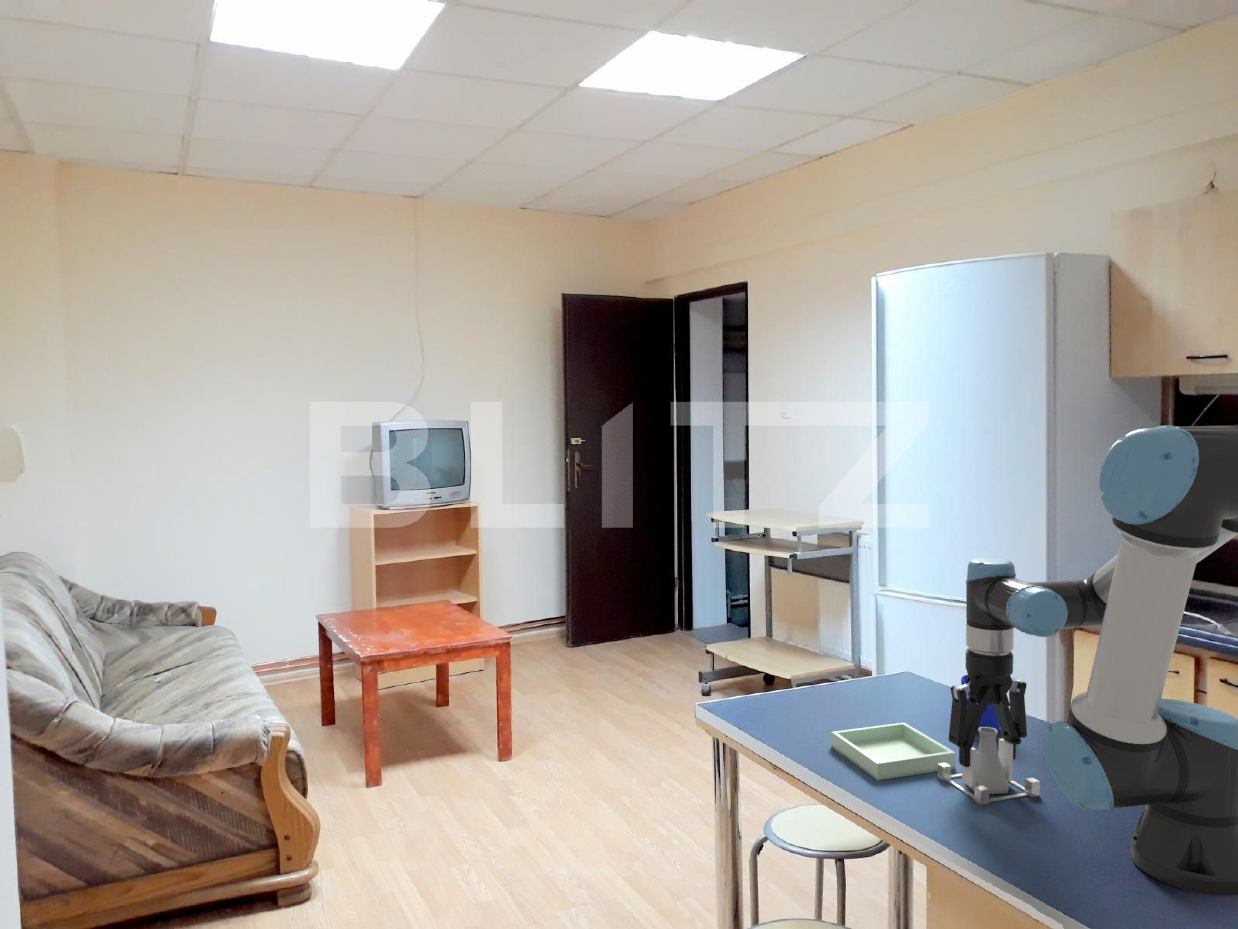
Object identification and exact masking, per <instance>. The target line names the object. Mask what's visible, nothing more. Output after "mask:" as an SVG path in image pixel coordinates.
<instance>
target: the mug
mask: <svg viewBox="0 0 1238 929" xmlns="http://www.w3.org/2000/svg"><path fill="white" fill-rule="evenodd" d="M967 676H968V674H966V675H965V674H964V675H963V676H961V677H960V678H961V679H960V683H961V684H960V686H961V685H964V684H965V681H966V679H967ZM969 695H970V693H969V692H968V696H969ZM967 702H968V699H967ZM976 703H977V704H980V703H978V702H976ZM967 709H968V704H967ZM979 727H990V728H995V729H996V730H998V731H999V730H1000V729H1001V728H1000V725H999V721H998V718H997V715H996V711H995V708H994V705H993V704H990V705H987V709H986V711H985V712H983V714H982V717H981V721H980V724H979ZM979 727H978V729H979ZM977 733H979V732H978V730H977Z"/></svg>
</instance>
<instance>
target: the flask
mask: <svg viewBox="0 0 1238 929" xmlns="http://www.w3.org/2000/svg"><path fill="white" fill-rule="evenodd" d="M977 733H979V742H978V747H977V751H976V786H982V785H983V786H985V787H986V788H988V789H989V795H995V794H996V795H997V794H1008V792H1009V789H1010V783H1009V782H1008V781H1007V778H1006V775H1005V772H1004V770H1003V767H1002V764H1001V761H1000V758H999V755H998V753H999V750H998V746H997V745H998V744H997V736H998V733H999V729H998V730H996V729H995V728H990V727H979V729H978V732H977ZM964 784H965V786H967V787H968V788H969V789H971V790H972V791H973V792H974V791H975V787H971V786H969V785H968V784H966V783H965V782H964Z"/></svg>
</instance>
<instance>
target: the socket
mask: <svg viewBox="0 0 1238 929" xmlns="http://www.w3.org/2000/svg"><path fill="white" fill-rule="evenodd" d="M937 778H938V779H939V780H941V781H942V782H947V783H948V784H950V785H952V787H955V788H956V789H958V790H959V791H961V792H962V793H964V794H966V795H967V796H969V797H970V798H971V799H973V800H974V802H975V803H976V804H978V805H979V806H985V805H989V804H990V803H993V802H1000V801H1006V800H1012V799H1018V798H1025V797H1031V798H1034V797H1035V798H1036V797H1039V796H1040V788H1041V787H1040V786H1041V783H1040V780H1038V779H1036V778H1034V777H1027V778H1024V786H1023V785H1021V784H1020V783H1018V782H1016V781H1015V780H1013V779H1012V781H1008V783H1009V784H1012V785H1013V786H1015V787H1016V788H1019V790H1022V791H1023V793H1017V794H1016V793H1015V794H1011V795H1010V794H1009V795H1004V796H999V797H998V796H997V797H991V798H990V794H989V789H988V788H986V787H985V786H983V785H982V786H976V787H975V791H973V792H974V794H973V793H972V792H970V791H969V790H968V789H966V788H964V787H962V786H961V785H959V784H958V783H956V782H955V781H953V780H952V779H955V778H956V779H957V778H962V772H961V773H956V774H952V769H951V766H950V765H949V764H947V763H938V768H937Z"/></svg>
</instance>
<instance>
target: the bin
mask: <svg viewBox="0 0 1238 929" xmlns="http://www.w3.org/2000/svg"><path fill="white" fill-rule="evenodd" d="M830 736H831V737H830V738H831V741H830V743H831V744H830V747H831V748H832V749H833V750H834V751H836V752H837V753H838V754H840V755H841V756H843V757H844V758H845V759H847V760H849V761H850V762H851V763H852V764H854V765H855V766H856V767H858V768H860V769H861V770H862V771H864V772H865V773H866V774H867V775H869V776H870V777H872V778H873V779H874V780H876V781H881V780H888V779H896V778H902V777H903V778H904V777H908V776H916V775H923V774H929V773H936V772H937V768H938V763H947V764H949V765H950V766H951V770H955V769H956V751H954V750H952V749H950V748H949V747H946V746H945V745H944V744H942V743H940V742H938V741H936V740H935V739H933V738H932V737H930V736H928V735H926V734H925V733H923V732H921V731H920V730H919V729H916V728H915V727H912V726H911V725H909V724H908V723H906V722H896V723H889V724H881V725H874V726H868V727H858V728H851V729H843V730H836V731H834V730H833V731H831V735H830Z"/></svg>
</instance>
